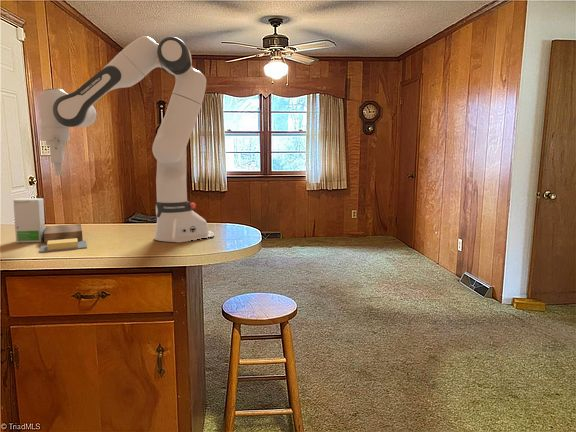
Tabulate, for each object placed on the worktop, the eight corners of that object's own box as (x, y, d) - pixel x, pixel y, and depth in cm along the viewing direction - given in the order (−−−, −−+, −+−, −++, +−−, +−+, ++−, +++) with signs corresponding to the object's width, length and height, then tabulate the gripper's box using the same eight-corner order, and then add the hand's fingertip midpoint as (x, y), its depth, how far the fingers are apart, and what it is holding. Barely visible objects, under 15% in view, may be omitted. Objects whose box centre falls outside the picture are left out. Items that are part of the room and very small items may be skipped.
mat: (85, 241, 150) (85, 240, 150) (87, 248, 140) (87, 246, 140) (41, 245, 143) (41, 244, 143) (39, 252, 134) (39, 251, 134)
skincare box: (15, 243, 147) (11, 200, 144) (21, 239, 153) (17, 197, 150) (42, 242, 149) (38, 199, 146) (47, 238, 155) (43, 197, 153)
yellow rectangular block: (77, 241, 139) (78, 247, 140) (77, 238, 145) (77, 243, 145) (47, 244, 135) (47, 250, 136) (47, 240, 140) (48, 246, 141)
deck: (81, 233, 164) (80, 223, 163) (82, 241, 150) (81, 230, 149) (46, 236, 158) (45, 226, 158) (44, 245, 144) (43, 233, 144)
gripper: (65, 135, 139) (68, 176, 141) (65, 137, 156) (68, 173, 159) (43, 135, 136) (47, 176, 138) (46, 136, 153) (49, 173, 156)
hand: (58, 175), depth 148 cm, fingers closed
